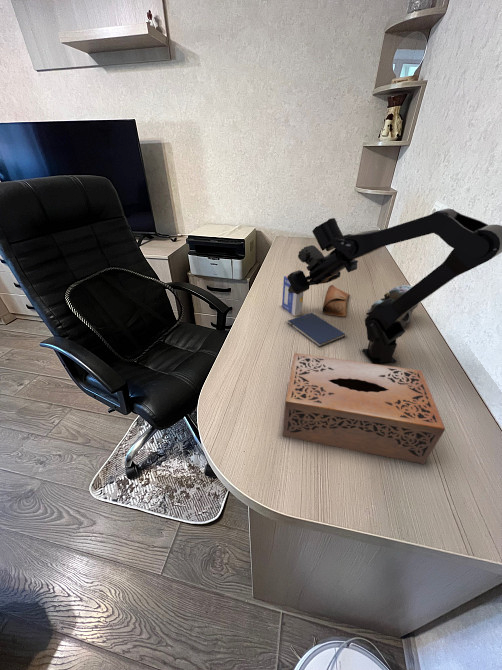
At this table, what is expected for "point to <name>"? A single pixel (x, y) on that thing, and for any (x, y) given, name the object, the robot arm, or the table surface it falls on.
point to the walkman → (291, 299)
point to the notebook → (316, 329)
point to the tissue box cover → (362, 407)
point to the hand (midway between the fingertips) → (298, 287)
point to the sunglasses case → (335, 302)
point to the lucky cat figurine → (394, 295)
